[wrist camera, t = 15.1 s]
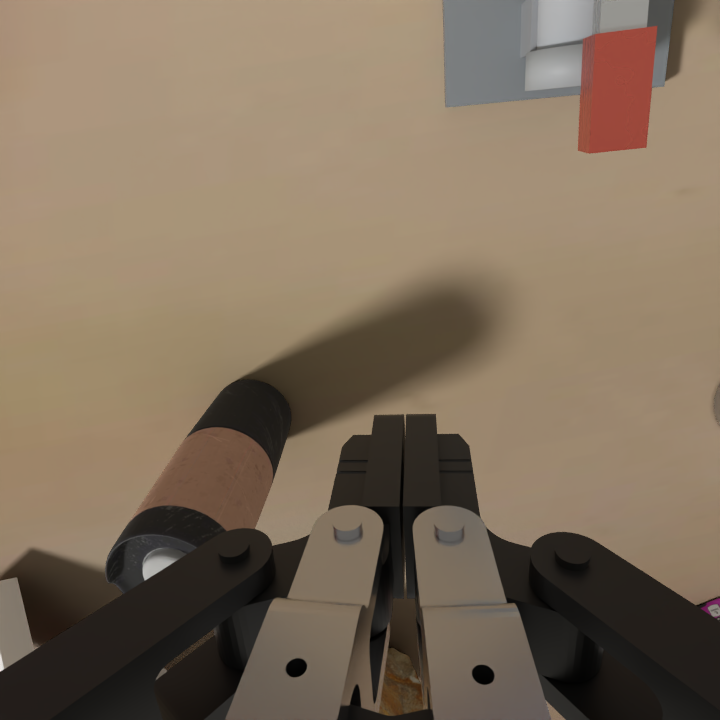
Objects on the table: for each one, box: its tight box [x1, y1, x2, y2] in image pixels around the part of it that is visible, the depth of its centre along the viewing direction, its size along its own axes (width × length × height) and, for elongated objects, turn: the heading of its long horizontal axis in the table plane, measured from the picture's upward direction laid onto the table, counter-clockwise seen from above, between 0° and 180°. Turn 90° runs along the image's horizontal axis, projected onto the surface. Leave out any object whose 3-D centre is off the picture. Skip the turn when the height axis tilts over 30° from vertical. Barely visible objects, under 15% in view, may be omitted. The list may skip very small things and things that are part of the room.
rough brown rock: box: [379, 648, 423, 716], centre depth 57 cm, size 23×17×15 cm
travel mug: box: [105, 380, 291, 594], centre depth 42 cm, size 8×8×20 cm
